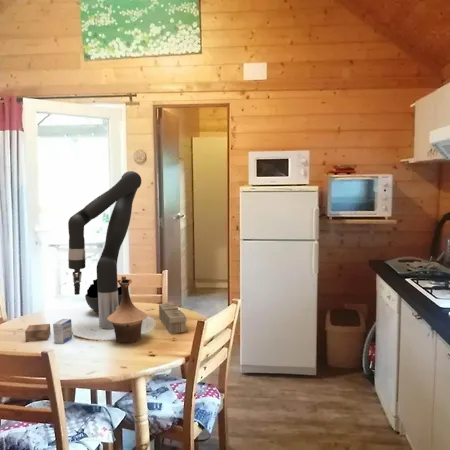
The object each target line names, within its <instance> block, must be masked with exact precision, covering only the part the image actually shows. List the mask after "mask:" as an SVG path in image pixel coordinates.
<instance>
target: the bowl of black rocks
mask: <svg viewBox="0 0 450 450" xmlns="http://www.w3.org/2000/svg"><path fill="white" fill-rule="evenodd" d="M86 293H87V294H85V296H84V298H85V301H86V305H88V307H89V308H90V309H92V311H94V312H96V313H98V314H99V304H98V287H97V278H96V279H93V280H92V283H91V284H89V286H88V288H87V291H86ZM121 299H122V287H121V286H120V285H119V286H118V305H120V303H121Z"/></svg>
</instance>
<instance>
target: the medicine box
mask: <svg viewBox="0 0 450 450" xmlns="http://www.w3.org/2000/svg"><path fill="white" fill-rule="evenodd" d="M72 326H73V325H72V318H61V319H60V320H58V321H57V322H54V323H52V329H53V330H52V331H53V342H54V343H55V344H65V343H67V341H69V340H71V339H72V338H73V330H72V329H73V327H72Z"/></svg>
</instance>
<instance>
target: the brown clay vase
mask: <svg viewBox="0 0 450 450" xmlns="http://www.w3.org/2000/svg"><path fill="white" fill-rule="evenodd" d="M117 282H118V284H119V287H120V286H121V287H122V299H121V303H120V305H119V307H118V308H117V310H116V311H115V312H114V313H113V314H111V315H110V316H109V317H108V318H107V319H108V321H110V322H112V324H113V327H114V328H113V332H114V335H115V341H116V343H117V344H123V345H126V344H127V345H129V344H130V345H131V344H135V343H137V342H139V341H141V339H142V336H141V335H142V325H143V321H144V320H146V319H147V317H148V314H147V313H146V312H144V311H143V310H141V309H140V308H138V307H137V306H135V304H134V303H133V301H132V299H131V297H130V289H129V288H130V287H129V286H130V284H132V283H133V280H132V279H130V278H127V277H126V275H121V279H119V280H118V279H117Z"/></svg>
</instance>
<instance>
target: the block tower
mask: <svg viewBox="0 0 450 450" xmlns="http://www.w3.org/2000/svg"><path fill="white" fill-rule="evenodd" d="M158 318H159V320H160V322H161V323H162V325H163V326H164V327H165V329H166V330H167V332H168V334H170V335H172V334H181V333H185V332H187V325H186V322H187V315H186V314H184V312H183V311H181V309H179V307H178V306H177V305H176V304H175V302H174V301H168V302H162V303H159V304H158Z"/></svg>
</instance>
